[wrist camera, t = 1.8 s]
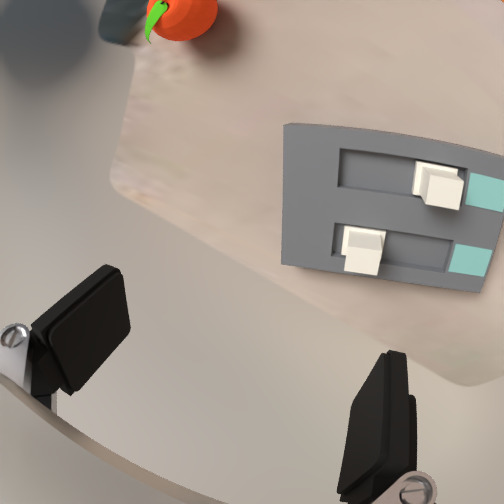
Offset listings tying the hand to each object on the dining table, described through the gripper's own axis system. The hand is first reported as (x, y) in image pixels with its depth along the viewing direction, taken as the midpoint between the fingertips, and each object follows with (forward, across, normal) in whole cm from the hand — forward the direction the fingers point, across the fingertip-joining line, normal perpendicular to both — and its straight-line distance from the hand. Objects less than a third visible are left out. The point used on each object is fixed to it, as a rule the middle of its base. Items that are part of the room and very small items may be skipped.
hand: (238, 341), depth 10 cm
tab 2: (+21, -11, -3) cm, 24 cm away
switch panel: (+23, -8, +1) cm, 25 cm away
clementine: (+24, +15, -15) cm, 32 cm away
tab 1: (+21, -6, +5) cm, 22 cm away
